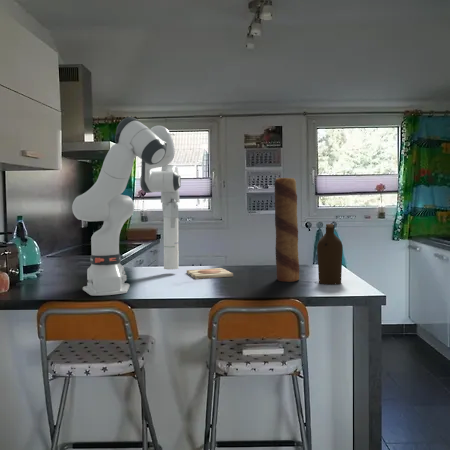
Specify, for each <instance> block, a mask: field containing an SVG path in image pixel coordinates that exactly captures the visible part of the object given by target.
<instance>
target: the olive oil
mask: <svg viewBox="0 0 450 450" xmlns="http://www.w3.org/2000/svg"><path fill="white" fill-rule="evenodd" d="M334 226H335V225H334V223H326V224H325V233H324V235H323V236H322V237H321V238H320V239H319V240H318V242H317V245H316V252H317V266H318V267H317V269H318V270H317V271H318V272H317V273H318V283H319V284H321V285H331V286H333V285H340V284H342V273H343V272H342V270H343V269H342V267H343V249H344V247H343V246H344V245H343V242H342V241H341V239H340V238H339V237H338V235H336V234H335V228H334Z"/></svg>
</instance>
